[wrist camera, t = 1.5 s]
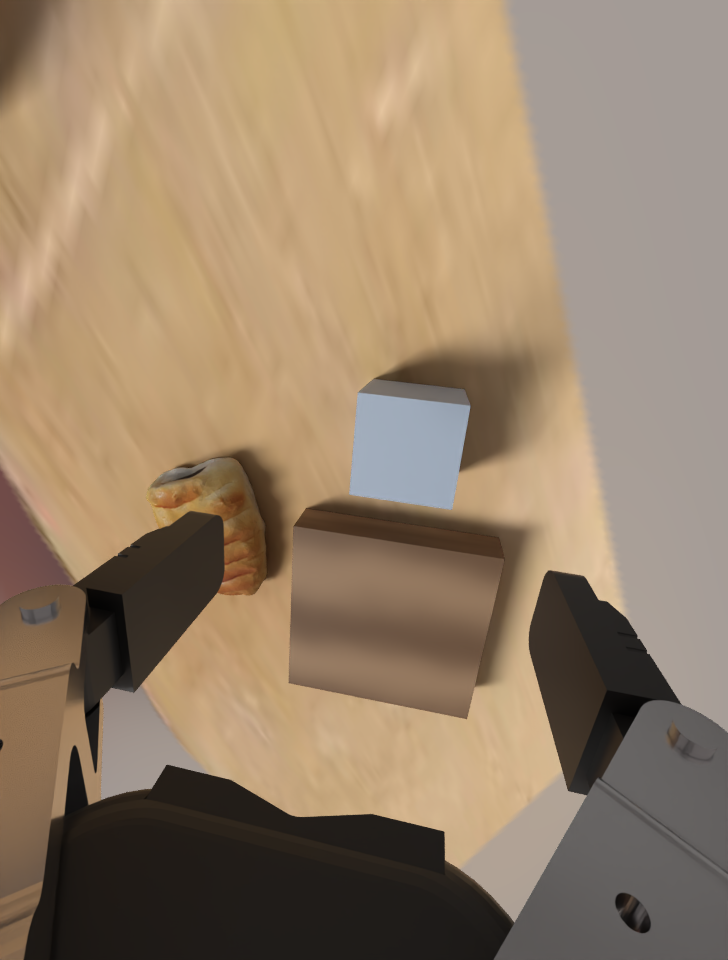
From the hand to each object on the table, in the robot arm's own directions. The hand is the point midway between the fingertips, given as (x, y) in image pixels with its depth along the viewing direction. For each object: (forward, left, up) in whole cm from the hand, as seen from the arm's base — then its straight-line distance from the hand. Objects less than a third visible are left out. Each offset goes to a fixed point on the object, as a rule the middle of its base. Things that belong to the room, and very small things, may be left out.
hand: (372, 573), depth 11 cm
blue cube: (0, 0, -15) cm, 15 cm away
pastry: (+7, -12, -15) cm, 21 cm away
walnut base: (+12, 0, -16) cm, 20 cm away
